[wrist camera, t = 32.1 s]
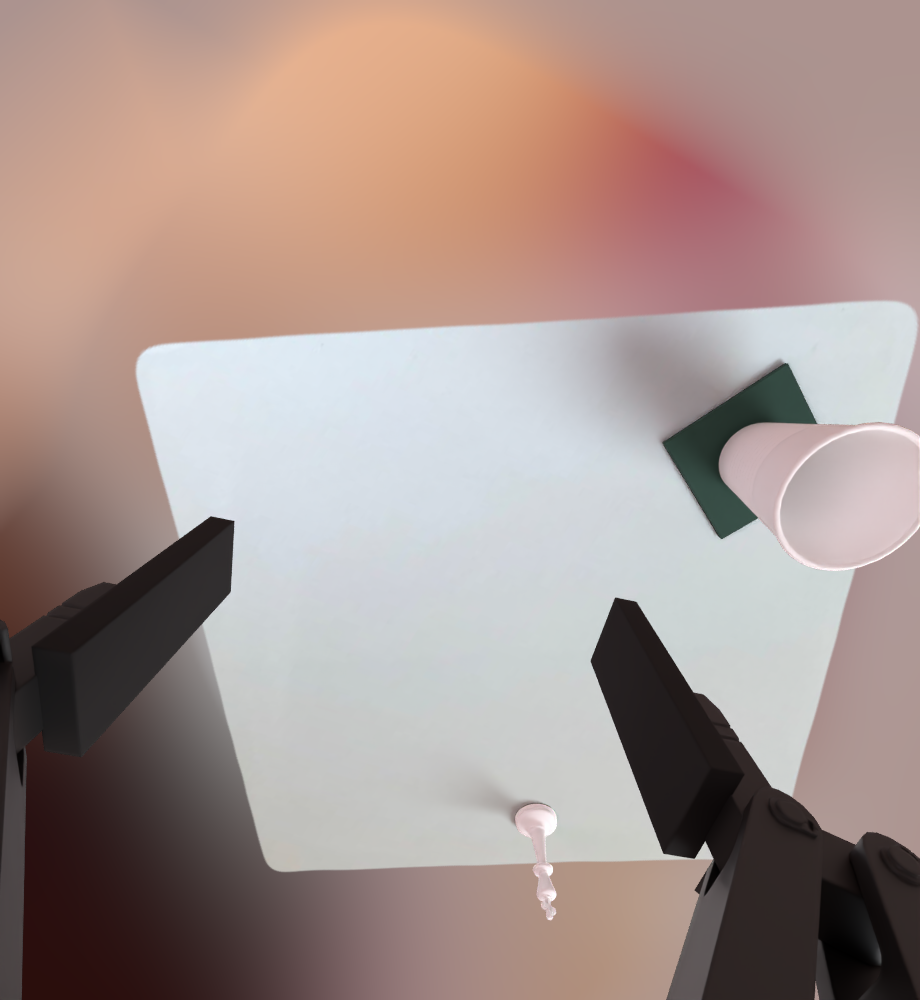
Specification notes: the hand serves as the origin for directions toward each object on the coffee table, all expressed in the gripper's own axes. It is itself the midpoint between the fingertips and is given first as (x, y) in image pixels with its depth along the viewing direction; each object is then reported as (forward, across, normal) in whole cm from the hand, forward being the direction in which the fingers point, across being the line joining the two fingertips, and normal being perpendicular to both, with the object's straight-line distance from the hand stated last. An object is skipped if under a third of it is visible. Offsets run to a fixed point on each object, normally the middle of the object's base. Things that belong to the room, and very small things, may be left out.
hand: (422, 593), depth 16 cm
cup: (+25, +26, +4) cm, 36 cm away
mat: (+25, +26, +4) cm, 36 cm away
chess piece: (+25, +20, -43) cm, 53 cm away
